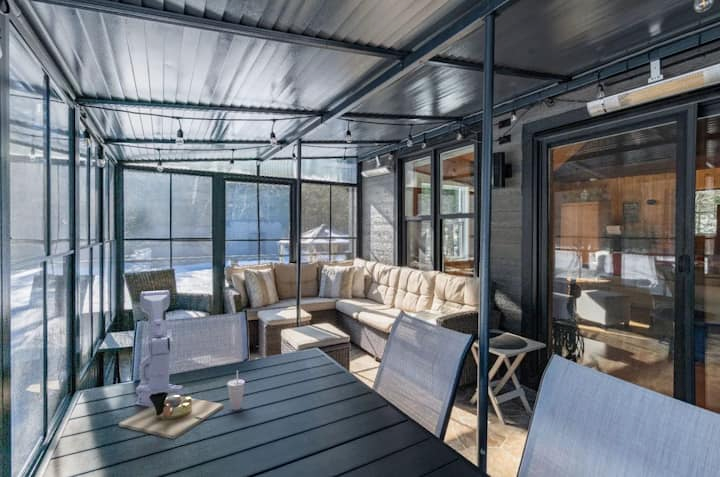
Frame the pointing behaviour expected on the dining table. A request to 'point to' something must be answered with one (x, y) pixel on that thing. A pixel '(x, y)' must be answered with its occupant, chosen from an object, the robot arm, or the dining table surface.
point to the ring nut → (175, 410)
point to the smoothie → (236, 392)
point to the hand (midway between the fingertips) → (159, 414)
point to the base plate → (171, 428)
